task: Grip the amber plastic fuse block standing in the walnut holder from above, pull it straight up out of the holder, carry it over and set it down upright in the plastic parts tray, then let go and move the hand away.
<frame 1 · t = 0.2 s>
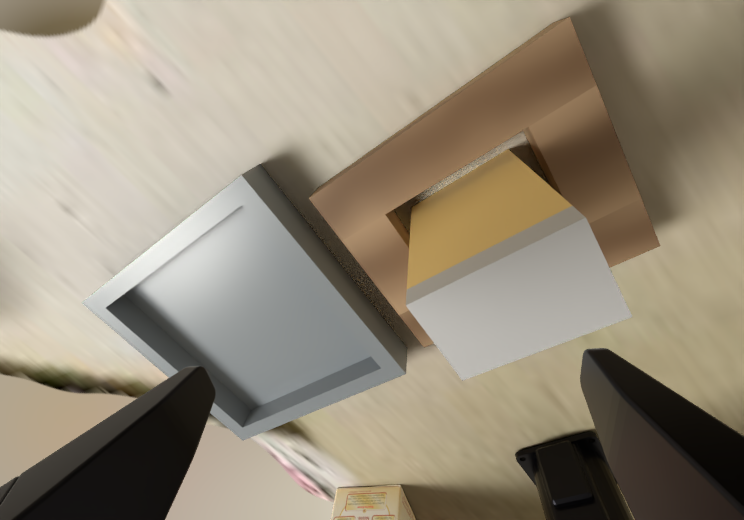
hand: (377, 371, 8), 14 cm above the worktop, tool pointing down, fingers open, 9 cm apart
fuse holder: (474, 208, 20), on the worktop
parts tray: (257, 315, 26), on the worktop
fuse: (474, 208, 20), resting in fuse holder
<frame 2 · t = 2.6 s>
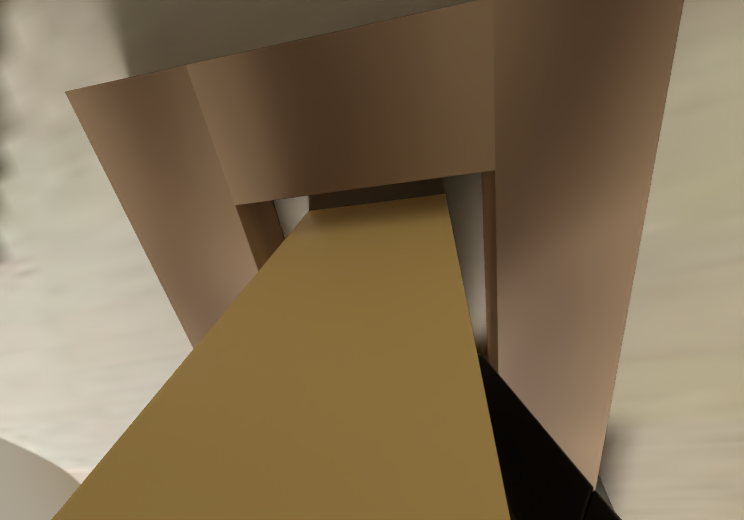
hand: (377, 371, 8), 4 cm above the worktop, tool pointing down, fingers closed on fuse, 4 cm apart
fuse holder: (389, 291, 11), on the worktop
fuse: (389, 290, 11), resting in fuse holder, touching gripper
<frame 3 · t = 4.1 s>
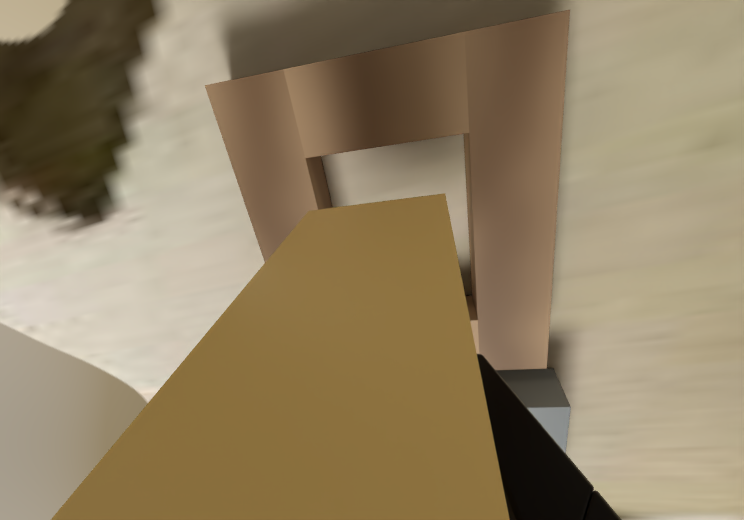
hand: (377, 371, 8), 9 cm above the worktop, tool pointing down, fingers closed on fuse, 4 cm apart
fuse holder: (401, 227, 16), on the worktop
parts tray: (419, 461, 24), on the worktop
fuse: (389, 290, 12), point 5 cm above the worktop, touching gripper
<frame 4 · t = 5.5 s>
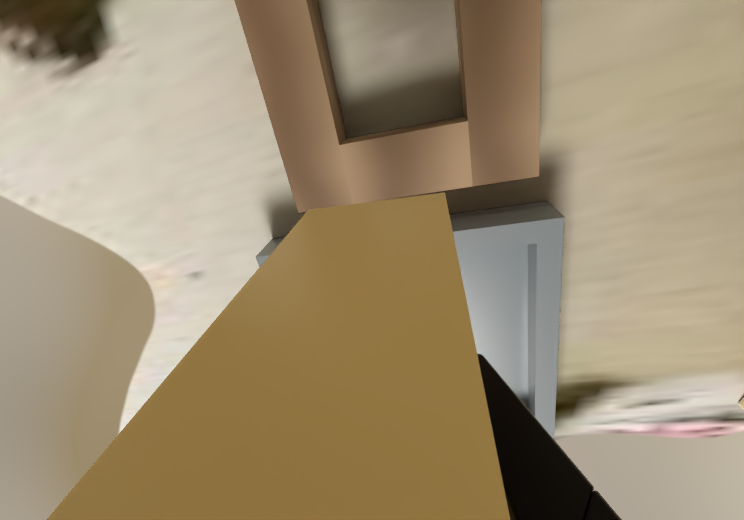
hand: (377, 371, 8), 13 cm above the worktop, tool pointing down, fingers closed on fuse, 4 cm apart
fuse holder: (390, 37, 16), on the worktop
parts tray: (418, 331, 24), on the worktop
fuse: (389, 289, 11), point 10 cm above the worktop, touching gripper
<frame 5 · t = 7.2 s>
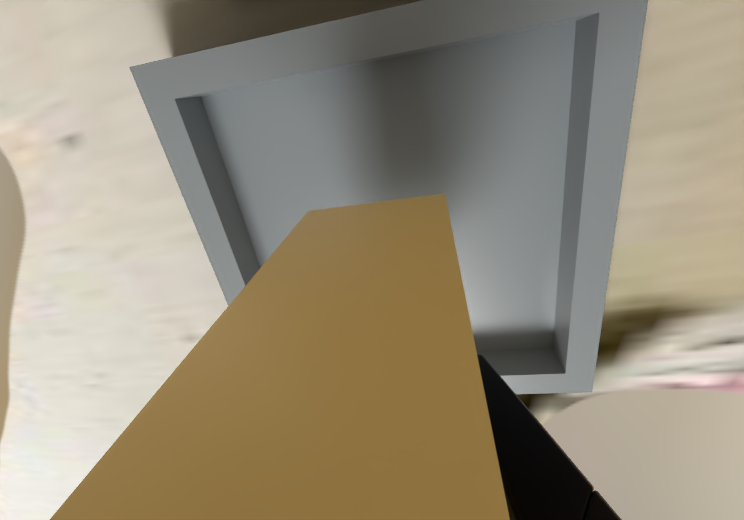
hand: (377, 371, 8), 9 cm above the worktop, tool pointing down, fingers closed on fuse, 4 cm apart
parts tray: (397, 229, 16), on the worktop
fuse: (389, 290, 11), point 5 cm above the worktop, touching gripper
when the fingers open (5 cm above the worktop, at t = 8.7 s): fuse stays where it is, resting on parts tray.
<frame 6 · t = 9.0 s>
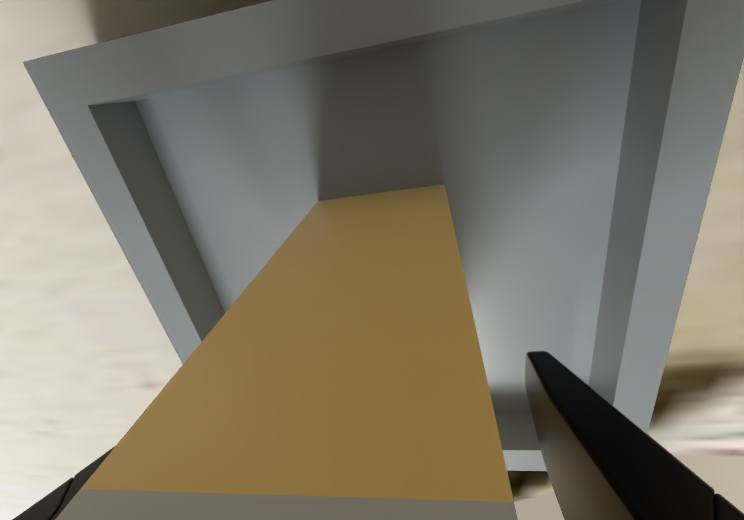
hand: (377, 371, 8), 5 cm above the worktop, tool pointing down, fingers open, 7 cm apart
parts tray: (392, 266, 13), on the worktop
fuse: (392, 276, 12), point 1 cm above the worktop, touching parts tray
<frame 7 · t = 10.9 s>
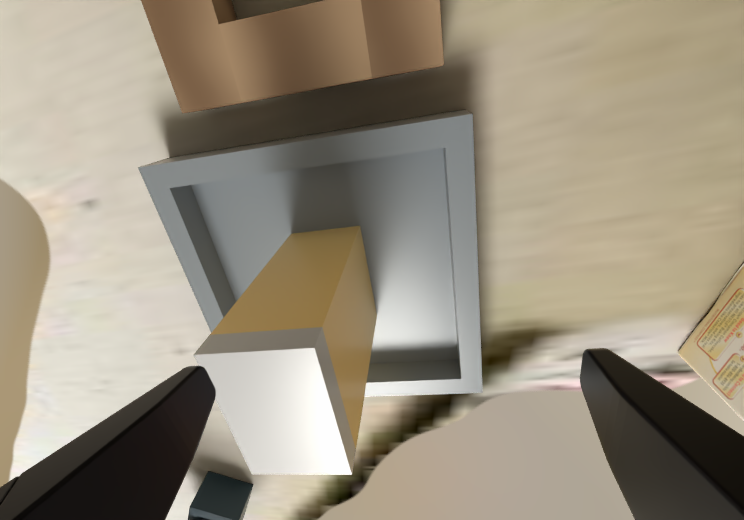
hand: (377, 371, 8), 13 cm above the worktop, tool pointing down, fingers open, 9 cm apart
parts tray: (337, 270, 22), on the worktop
watch: (227, 491, 34), on the worktop
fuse: (336, 276, 21), point 1 cm above the worktop, touching parts tray
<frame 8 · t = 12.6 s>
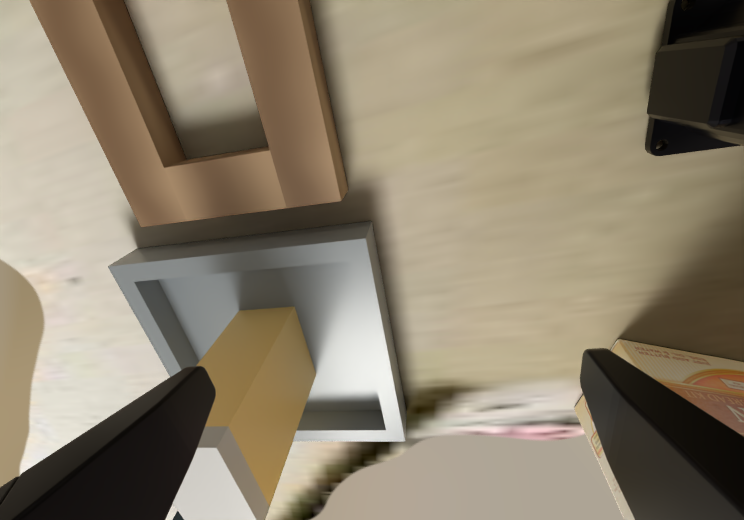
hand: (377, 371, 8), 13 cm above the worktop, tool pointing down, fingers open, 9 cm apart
fuse holder: (206, 71, 18), on the worktop
coffeecake box: (703, 394, 24), on the worktop
parts tray: (282, 336, 26), on the worktop
watch: (206, 508, 39), on the worktop
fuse: (279, 343, 25), point 1 cm above the worktop, touching parts tray
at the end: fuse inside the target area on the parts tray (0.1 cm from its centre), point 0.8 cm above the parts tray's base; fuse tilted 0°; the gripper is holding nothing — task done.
